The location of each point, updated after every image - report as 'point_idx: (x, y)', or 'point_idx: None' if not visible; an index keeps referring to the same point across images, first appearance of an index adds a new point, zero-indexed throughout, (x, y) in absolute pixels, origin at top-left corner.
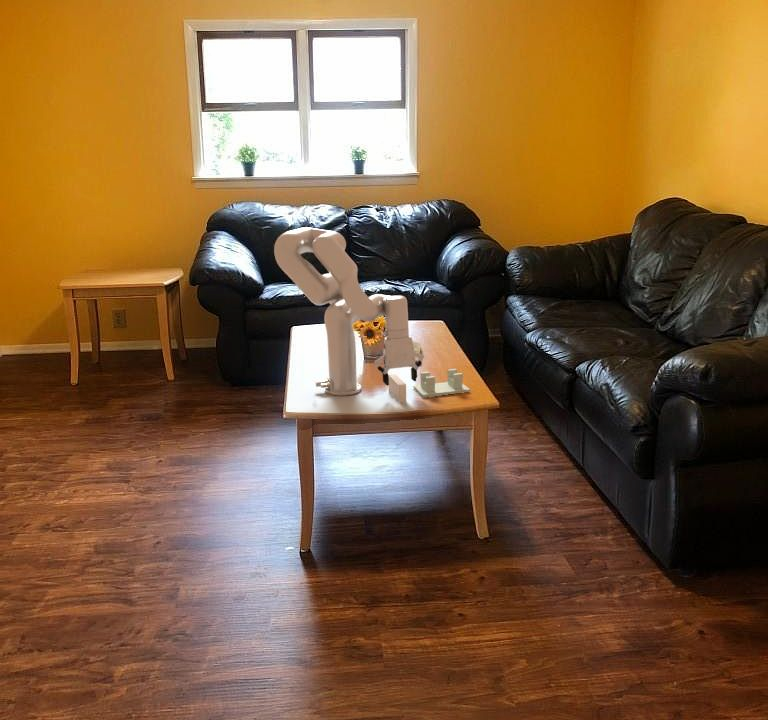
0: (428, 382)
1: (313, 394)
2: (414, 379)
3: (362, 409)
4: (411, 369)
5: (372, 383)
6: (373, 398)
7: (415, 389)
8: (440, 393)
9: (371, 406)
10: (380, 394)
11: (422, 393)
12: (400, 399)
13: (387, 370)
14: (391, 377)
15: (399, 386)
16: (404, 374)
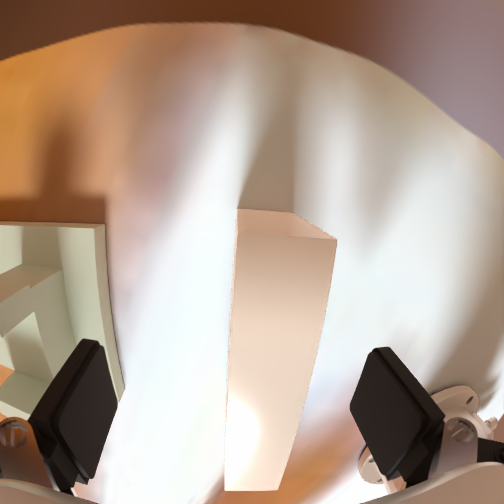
0: (9, 287)
1: (491, 403)
2: (92, 351)
3: (491, 197)
4: (87, 467)
5: (289, 481)
6: (395, 334)
7: (116, 367)
8: (7, 223)
9: (455, 216)
10: (332, 381)
11: (90, 257)
12: (286, 213)
13: (449, 456)
14: (284, 459)
15: (327, 235)
16: (140, 496)
